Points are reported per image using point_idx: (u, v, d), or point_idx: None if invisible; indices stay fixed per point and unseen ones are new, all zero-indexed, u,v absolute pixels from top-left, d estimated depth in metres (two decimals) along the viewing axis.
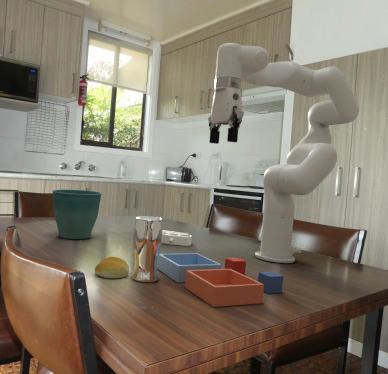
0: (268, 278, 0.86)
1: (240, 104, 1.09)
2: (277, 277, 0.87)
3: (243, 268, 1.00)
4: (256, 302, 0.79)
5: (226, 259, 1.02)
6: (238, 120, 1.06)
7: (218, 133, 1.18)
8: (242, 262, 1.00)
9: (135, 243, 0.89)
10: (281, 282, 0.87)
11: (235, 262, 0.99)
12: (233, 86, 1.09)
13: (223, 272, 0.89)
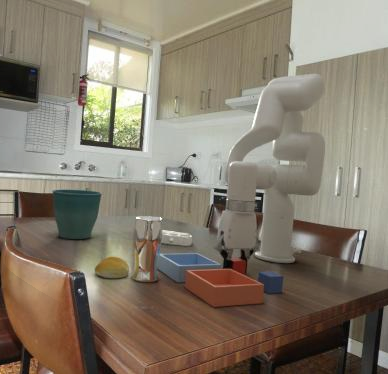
0: (268, 278, 0.86)
1: None
2: (277, 277, 0.87)
3: (243, 268, 1.00)
4: (256, 302, 0.79)
5: None
6: None
7: None
8: (242, 262, 1.00)
9: (135, 243, 0.89)
10: (281, 282, 0.87)
11: (235, 262, 0.99)
12: None
13: (223, 272, 0.89)
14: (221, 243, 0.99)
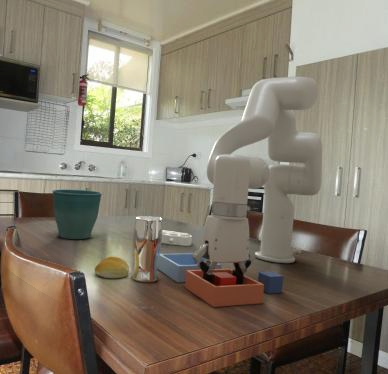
0: (268, 278, 0.86)
1: None
2: (277, 277, 0.87)
3: None
4: (256, 302, 0.79)
5: None
6: None
7: None
8: (231, 279, 0.81)
9: (135, 243, 0.89)
10: (281, 282, 0.87)
11: (223, 279, 0.80)
12: None
13: None
14: (202, 253, 0.79)
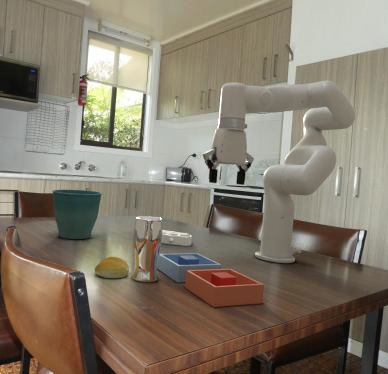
0: (184, 261, 0.95)
1: None
2: (193, 260, 0.95)
3: None
4: (256, 302, 0.79)
5: (212, 275, 0.83)
6: None
7: None
8: (231, 279, 0.81)
9: (135, 243, 0.89)
10: (197, 264, 0.96)
11: (223, 279, 0.80)
12: None
13: None
14: (210, 153, 1.07)
